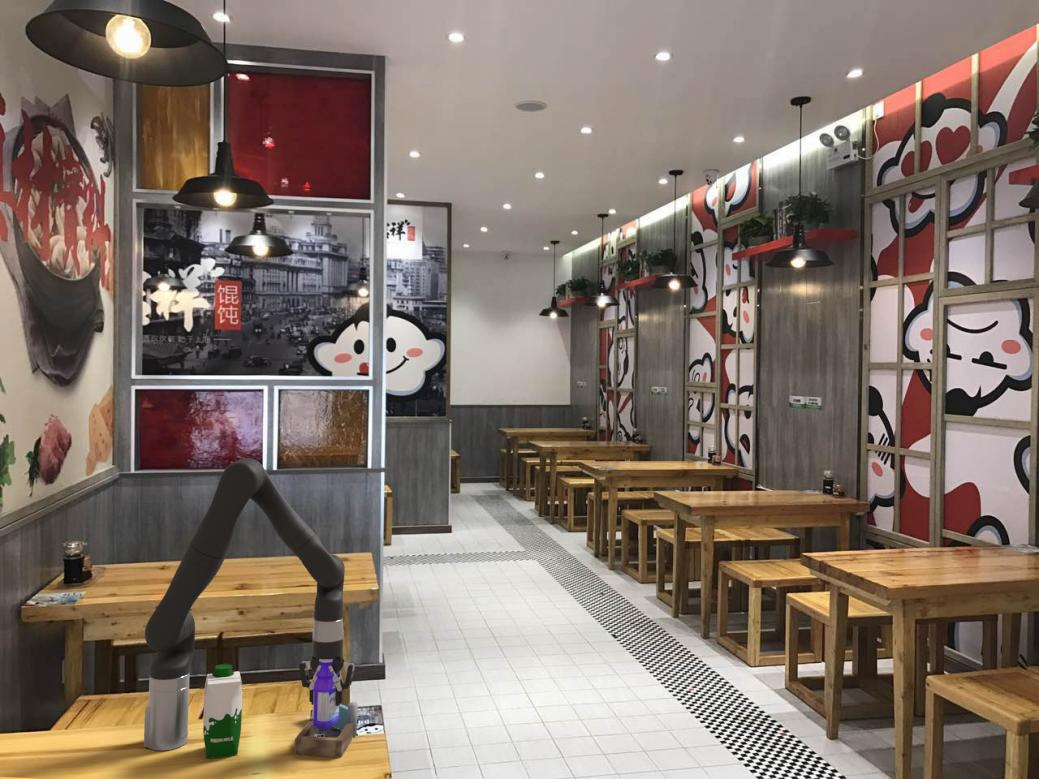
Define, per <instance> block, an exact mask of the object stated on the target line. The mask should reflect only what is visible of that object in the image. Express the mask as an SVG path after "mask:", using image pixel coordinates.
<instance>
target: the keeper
mask: <svg viewBox="0 0 1039 779" xmlns="http://www.w3.org/2000/svg"><path fill="white" fill-rule="evenodd" d="M347 723H353V738H354V737H356V736H357V733H358V732H357V731H358V730H357V728H358V702H354V701H352V702H351V701H350V702H348V703H347V705H344V704H343V703H341V704H340V705H339V719H338V722H337V723H336V724H335V725H334V726H332V727H334V728H336V729H338V730H339V731H342V730H343V729H344V727H345V726H346V724H347Z"/></svg>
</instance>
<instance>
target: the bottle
mask: <svg viewBox="0 0 1039 779" xmlns="http://www.w3.org/2000/svg"><path fill="white" fill-rule="evenodd" d="M319 665H321V668H320V670H319V671H318V672H317V673H316V676H317V679H316V681H315V683H314V702H313V705H312V706H313V708H312V721H313V724H314V726H315V728H318V729H330V728H332V727H333V726H334V725H335V724H336V723H337V722H338V719H339V706H336V691H337V688H336V684H335V683H334V682H333V679H332V678H333V676H334V674H333V672H331V671H330V669H329V667H328V666H330V665H332V666H333V659H319ZM336 675H337V674H336ZM337 677H338V676H337Z"/></svg>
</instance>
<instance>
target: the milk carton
mask: <svg viewBox="0 0 1039 779" xmlns="http://www.w3.org/2000/svg"><path fill="white" fill-rule="evenodd" d="M242 687H243V683H242V678H241V674H240V671H237V670H236V671H233V665H232V664H229V663H222V664H221V663H220V664H218V665H216V666H214V672H212V673H207V675H206V679H205V683H204V691H203V697H204V700H203V726H202V727H203V728H202V731H203V732H202V734H203V742H204V749H205V750H204V751H205V756H206V760H207V759H208V760H209V759H215V758H223V757H224V758H225V757H232V756H238V752H239V746H240V745H239V744H240V740H241V735H242V717H243V715H242V714H243V689H242Z"/></svg>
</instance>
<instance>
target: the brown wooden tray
mask: <svg viewBox="0 0 1039 779" xmlns="http://www.w3.org/2000/svg"><path fill="white" fill-rule="evenodd" d="M315 728H316V727H315V726H314V724H313V720H311V721H310V720H309V721H307V723H306V725H305V726H304V727H303V728H302V729H301V731H300V732H299V733H298V734H297V735H296V737H295V738H294V756H305V757H306V756H307V757H309V756H310V757H325V758H326V757H329V758H342V757H343V755H344V754H345V752H346V751H347V749H348V747H349V746H350V744H351V743H352V741H353V740H352V738H353V739H354V737H353V723H347V724H346V726H345V727H344V729H343V730H341V732H340V733H339V735H338V736H337V737H329V736H327V737H326V736H324V737H323V736H315V731H316V730H315ZM351 740H352V741H351ZM350 742H351V743H350ZM348 745H349V746H348Z"/></svg>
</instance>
